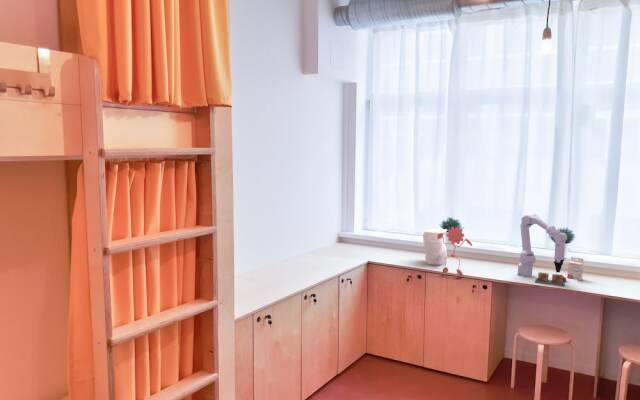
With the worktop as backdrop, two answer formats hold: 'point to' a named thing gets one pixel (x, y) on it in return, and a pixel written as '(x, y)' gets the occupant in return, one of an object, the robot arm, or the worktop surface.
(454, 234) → the figurine
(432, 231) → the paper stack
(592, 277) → the worktop surface
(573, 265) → the ink cartridge box
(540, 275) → the block
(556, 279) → the block
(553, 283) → the grey divided tray
